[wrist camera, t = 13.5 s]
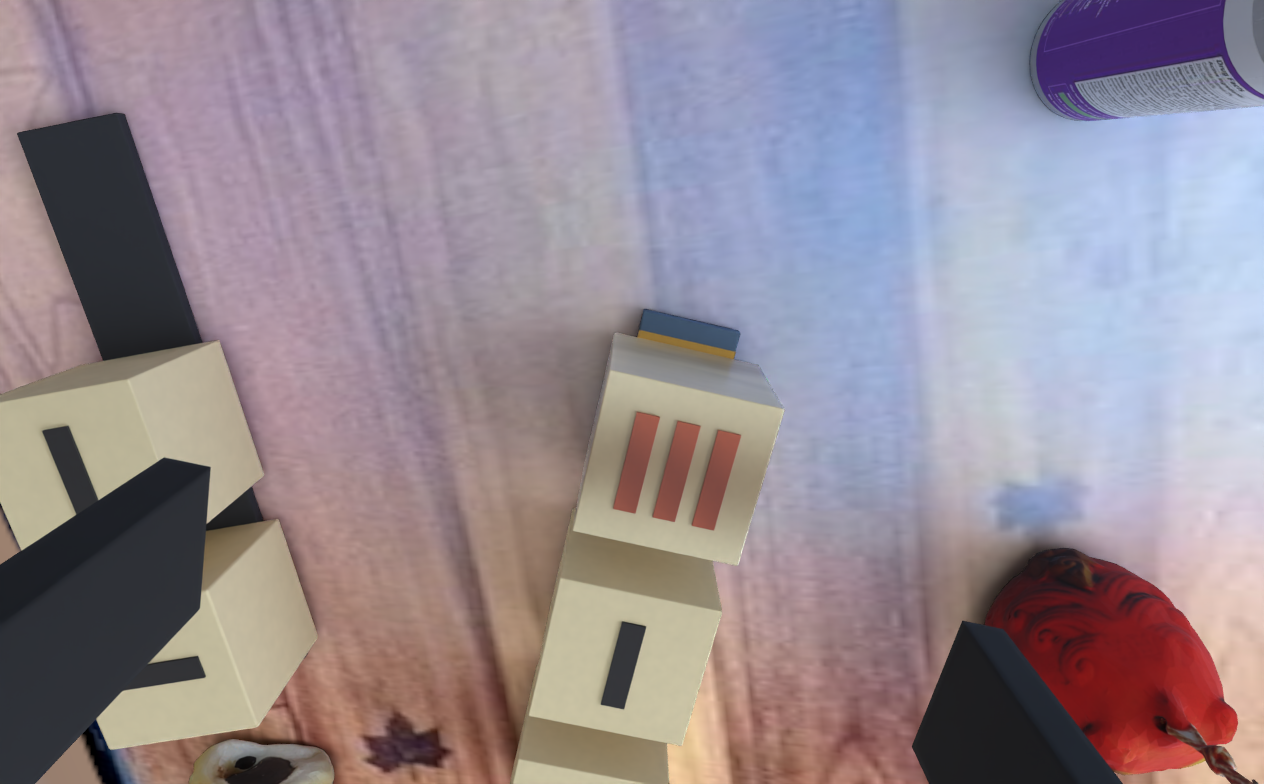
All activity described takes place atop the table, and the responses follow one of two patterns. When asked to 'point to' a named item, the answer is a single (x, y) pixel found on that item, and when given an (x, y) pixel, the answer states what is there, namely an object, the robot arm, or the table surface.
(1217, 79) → the container
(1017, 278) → the table surface
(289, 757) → the pastry
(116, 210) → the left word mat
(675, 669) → the right word mat
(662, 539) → the red striped cream cube
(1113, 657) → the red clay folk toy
